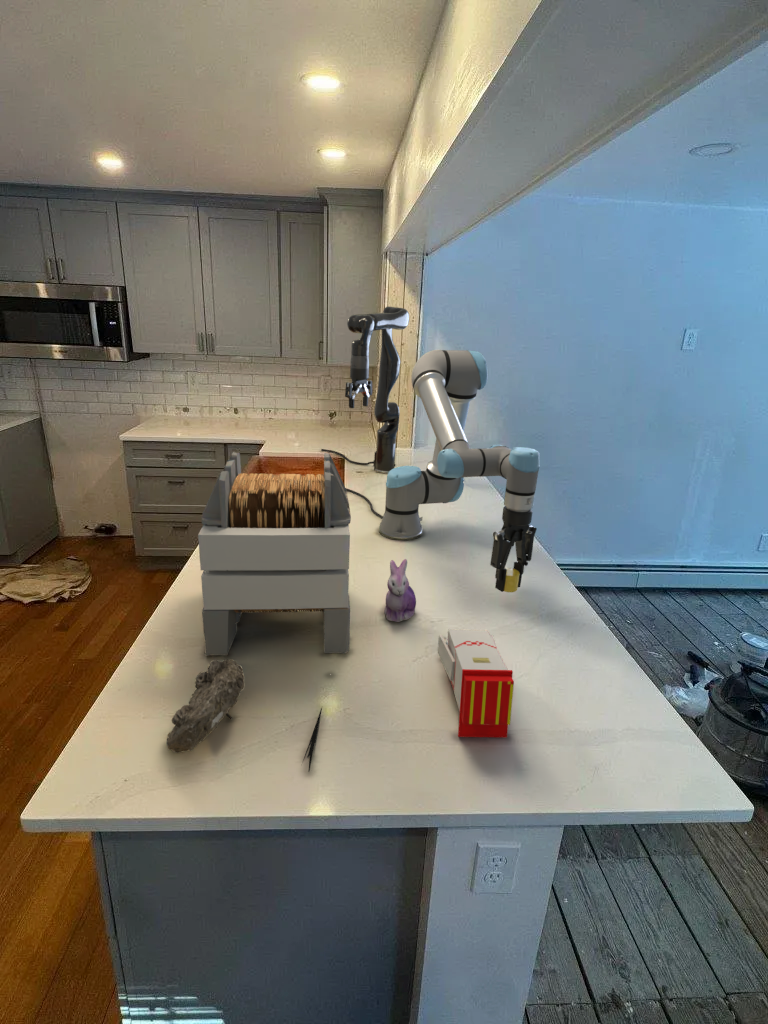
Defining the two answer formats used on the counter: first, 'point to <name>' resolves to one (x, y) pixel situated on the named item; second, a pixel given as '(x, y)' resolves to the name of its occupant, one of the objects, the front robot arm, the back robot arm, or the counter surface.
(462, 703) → the toy
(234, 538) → the record crate
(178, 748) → the fossil
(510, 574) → the cylinder
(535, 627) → the counter surface
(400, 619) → the figurine
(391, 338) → the back robot arm
